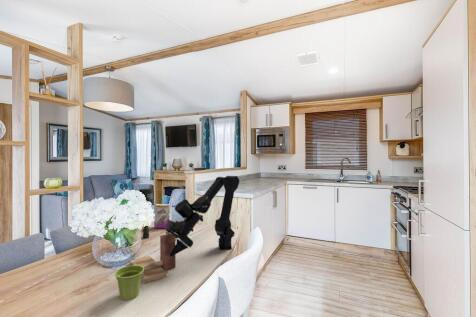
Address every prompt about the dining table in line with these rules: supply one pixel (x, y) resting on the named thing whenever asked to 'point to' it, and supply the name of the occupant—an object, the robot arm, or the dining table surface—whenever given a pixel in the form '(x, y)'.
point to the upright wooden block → (165, 253)
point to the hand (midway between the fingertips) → (166, 252)
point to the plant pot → (129, 281)
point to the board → (149, 273)
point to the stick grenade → (149, 197)
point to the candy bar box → (162, 215)
